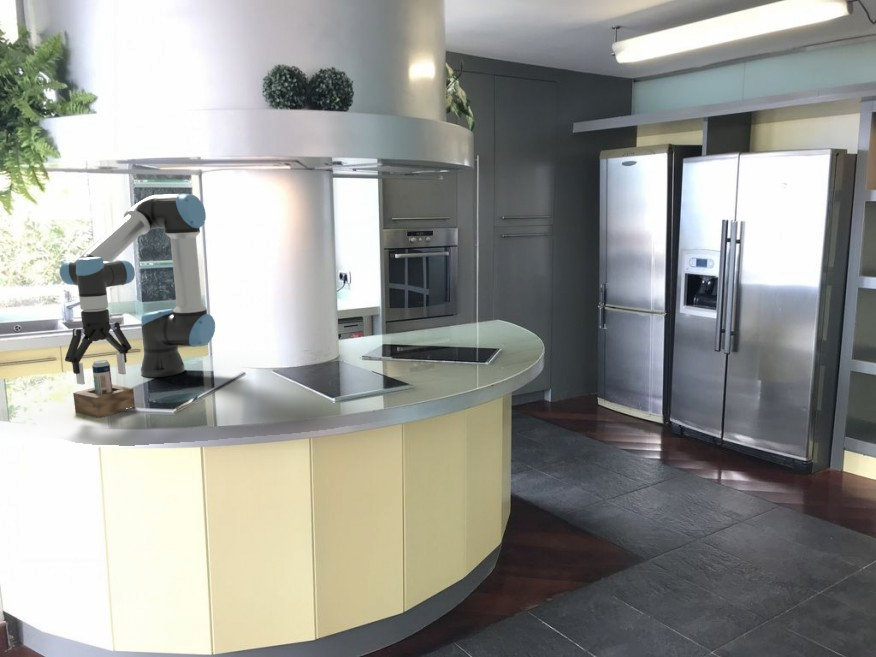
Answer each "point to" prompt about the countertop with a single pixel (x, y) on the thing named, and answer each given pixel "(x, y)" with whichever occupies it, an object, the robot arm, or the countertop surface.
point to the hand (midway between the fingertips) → (102, 378)
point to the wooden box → (103, 401)
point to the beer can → (102, 377)
